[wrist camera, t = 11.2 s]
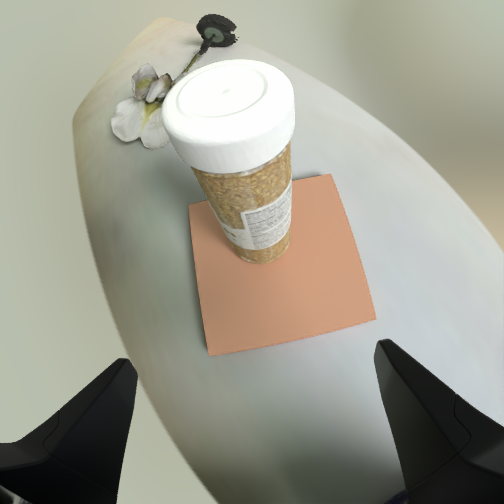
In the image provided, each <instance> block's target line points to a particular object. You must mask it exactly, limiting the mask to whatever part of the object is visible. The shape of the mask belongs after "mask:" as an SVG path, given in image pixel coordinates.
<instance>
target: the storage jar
mask: <svg viewBox="0 0 504 504" xmlns="http://www.w3.org/2000/svg"><path fill="white" fill-rule="evenodd" d="M385 504H409V500H408V495H407V490H406V489H404V490H402V491H401V492H399V493H398V494H396V495H395V496H393V497H392V498H391V499H389V500H388V501H387V502H386V503H385Z"/></svg>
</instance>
